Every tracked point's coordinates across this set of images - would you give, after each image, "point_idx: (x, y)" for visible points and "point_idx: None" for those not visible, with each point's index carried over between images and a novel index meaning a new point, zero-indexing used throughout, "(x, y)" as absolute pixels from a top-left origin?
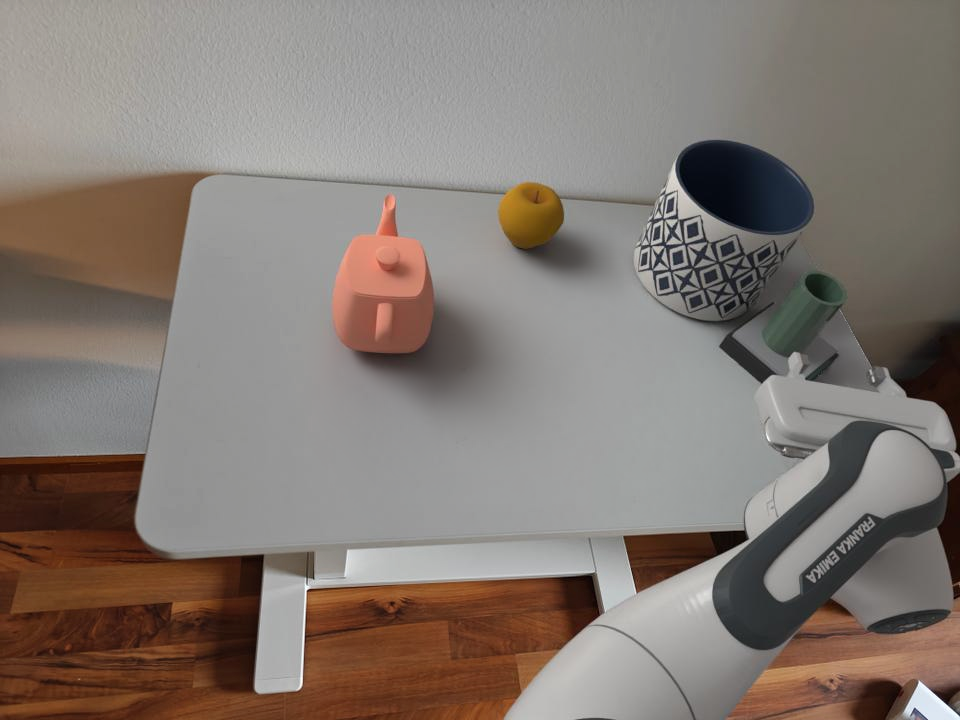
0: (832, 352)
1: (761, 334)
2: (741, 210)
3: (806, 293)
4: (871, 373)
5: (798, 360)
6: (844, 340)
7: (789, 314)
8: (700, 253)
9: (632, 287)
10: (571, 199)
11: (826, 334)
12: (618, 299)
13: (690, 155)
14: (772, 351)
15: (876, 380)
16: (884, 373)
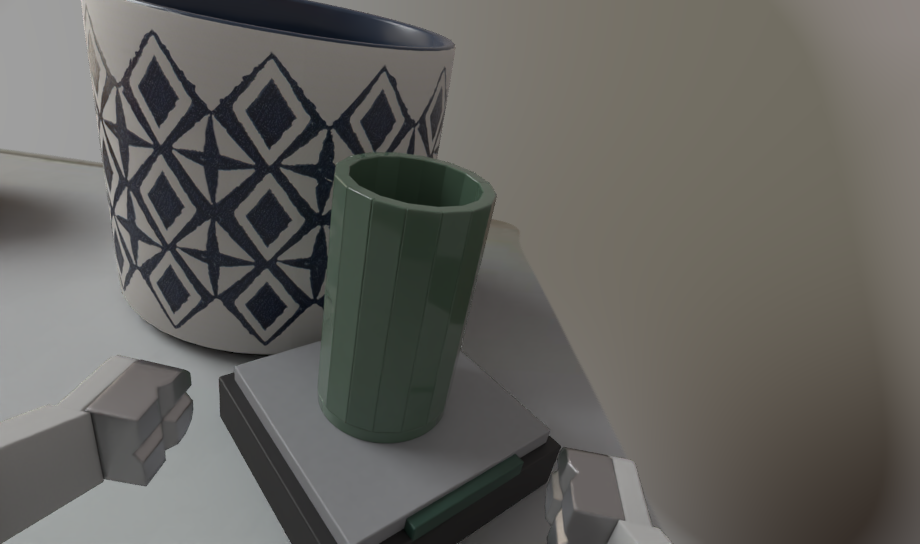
0: (532, 435)
1: None
2: None
3: (336, 179)
4: (557, 492)
5: (72, 393)
6: (600, 418)
7: (327, 280)
8: (119, 128)
9: (99, 282)
10: None
11: (555, 402)
12: (27, 298)
13: (229, 10)
14: (327, 423)
15: (573, 536)
16: (615, 491)
